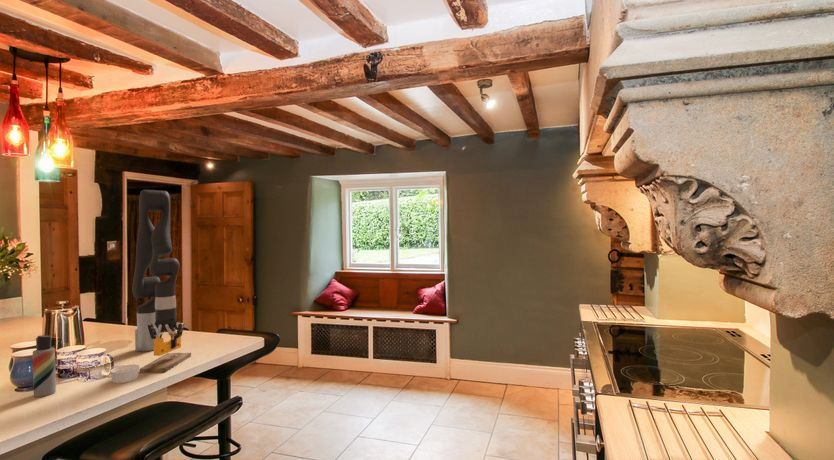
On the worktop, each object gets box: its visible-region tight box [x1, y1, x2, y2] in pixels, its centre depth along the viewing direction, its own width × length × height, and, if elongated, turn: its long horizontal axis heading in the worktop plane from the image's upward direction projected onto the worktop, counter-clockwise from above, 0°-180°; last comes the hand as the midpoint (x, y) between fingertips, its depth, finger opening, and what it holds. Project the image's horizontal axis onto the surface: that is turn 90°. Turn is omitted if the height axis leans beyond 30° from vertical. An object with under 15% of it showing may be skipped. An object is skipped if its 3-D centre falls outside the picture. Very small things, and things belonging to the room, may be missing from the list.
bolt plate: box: [139, 352, 192, 374], centre depth 174 cm, size 10×20×2 cm, turn 3°
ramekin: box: [110, 363, 140, 384], centre depth 157 cm, size 9×9×4 cm
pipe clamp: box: [153, 331, 182, 357], centre depth 173 cm, size 12×4×6 cm, turn 172°
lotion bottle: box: [32, 334, 57, 398], centre depth 144 cm, size 6×6×20 cm
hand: (166, 348), depth 174 cm, fingers closed on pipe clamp, 4 cm apart
